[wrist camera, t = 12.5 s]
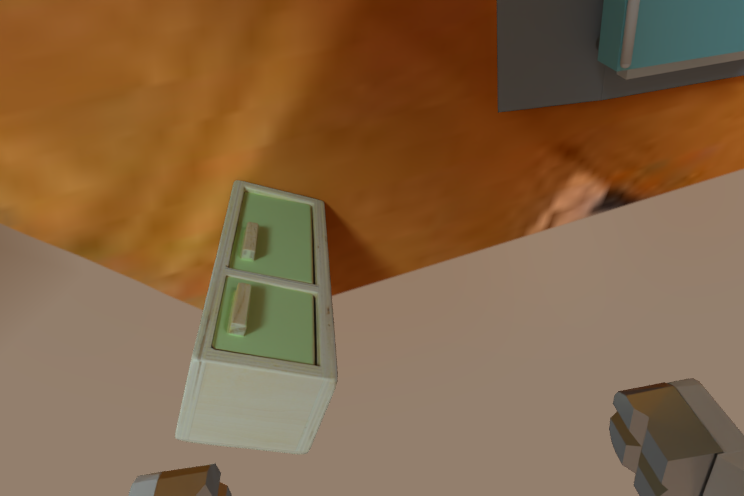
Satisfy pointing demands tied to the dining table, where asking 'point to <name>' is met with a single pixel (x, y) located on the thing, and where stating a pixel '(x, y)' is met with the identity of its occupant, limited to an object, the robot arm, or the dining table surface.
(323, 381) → the toy refrigerator
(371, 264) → the dining table surface
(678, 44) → the teal handled box
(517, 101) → the loading dock
